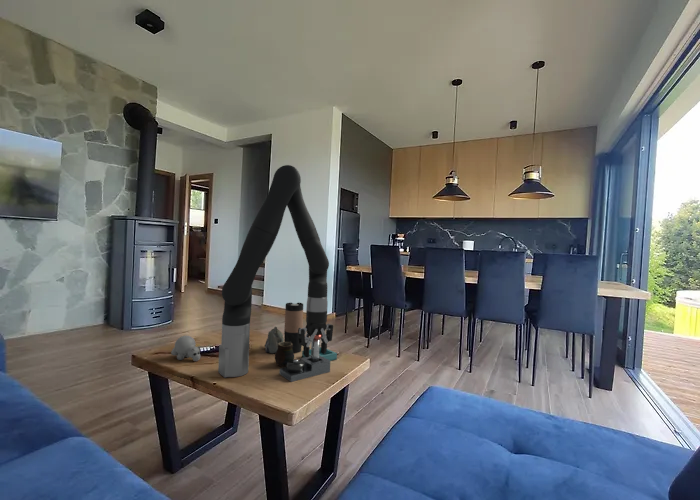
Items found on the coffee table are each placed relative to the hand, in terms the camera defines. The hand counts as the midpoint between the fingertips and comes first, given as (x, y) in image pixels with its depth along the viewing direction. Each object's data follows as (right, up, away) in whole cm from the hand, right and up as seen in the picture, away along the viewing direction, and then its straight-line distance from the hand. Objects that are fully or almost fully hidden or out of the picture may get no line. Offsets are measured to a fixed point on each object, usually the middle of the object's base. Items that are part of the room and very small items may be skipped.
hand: (315, 354), depth 122 cm
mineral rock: (-19, -5, +23) cm, 30 cm away
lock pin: (0, -6, 0) cm, 6 cm away
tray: (0, -6, +14) cm, 15 cm away
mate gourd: (-12, -5, +5) cm, 14 cm away
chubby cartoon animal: (-49, -4, +6) cm, 50 cm away
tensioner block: (-3, -6, -2) cm, 7 cm away
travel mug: (-12, -5, +22) cm, 25 cm away
